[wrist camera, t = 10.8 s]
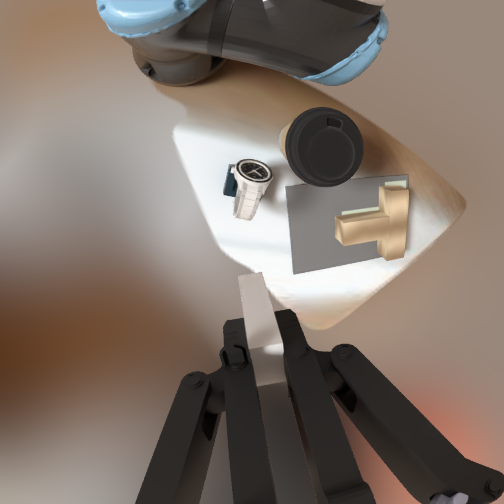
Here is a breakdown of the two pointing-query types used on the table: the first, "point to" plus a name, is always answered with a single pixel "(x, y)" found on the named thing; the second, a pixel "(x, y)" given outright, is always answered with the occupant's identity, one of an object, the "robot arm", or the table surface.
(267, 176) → the watch
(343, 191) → the mat
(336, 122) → the coffee cup
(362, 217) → the t block
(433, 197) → the table surface
